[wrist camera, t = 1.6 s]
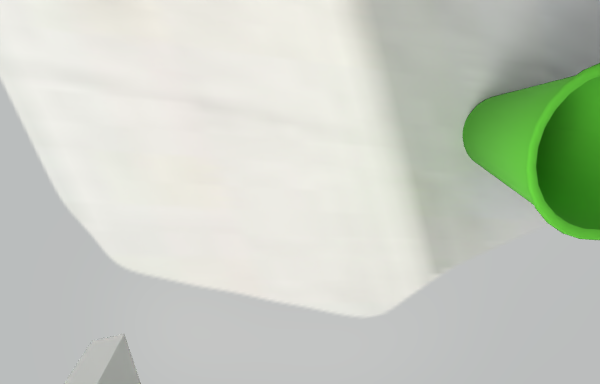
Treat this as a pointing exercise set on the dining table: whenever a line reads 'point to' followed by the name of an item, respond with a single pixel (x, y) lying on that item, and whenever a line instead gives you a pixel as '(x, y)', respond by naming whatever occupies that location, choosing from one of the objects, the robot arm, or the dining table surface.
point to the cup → (545, 148)
